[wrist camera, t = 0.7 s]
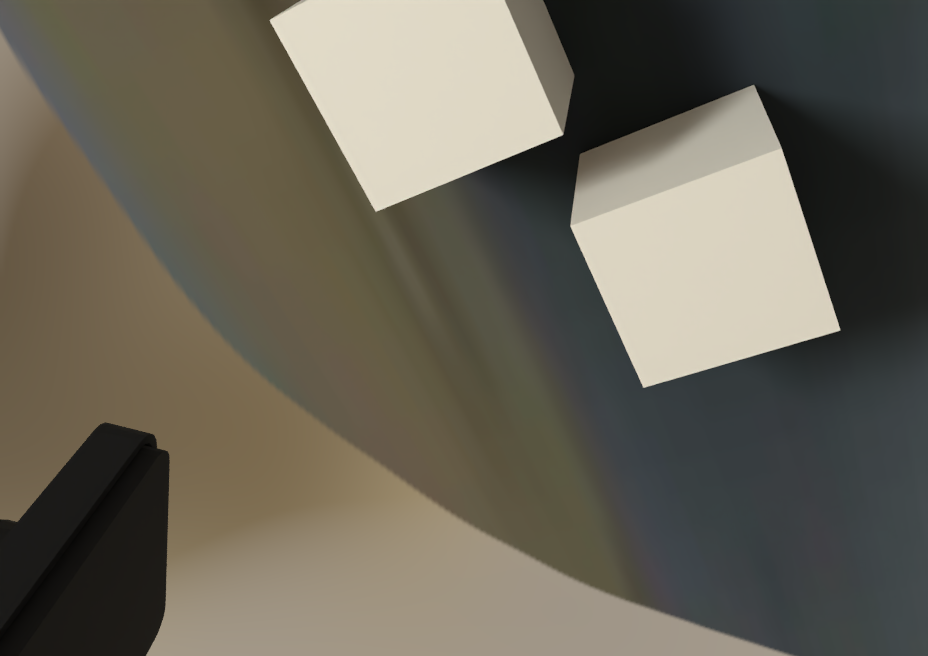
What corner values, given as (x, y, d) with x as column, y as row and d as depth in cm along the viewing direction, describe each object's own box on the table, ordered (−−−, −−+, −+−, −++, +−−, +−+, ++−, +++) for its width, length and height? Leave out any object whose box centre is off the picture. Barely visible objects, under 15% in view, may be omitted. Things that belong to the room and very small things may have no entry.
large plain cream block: (498, -108, 31) (468, -85, 25) (574, 75, 34) (563, 134, 28) (332, -20, 33) (269, 20, 27) (416, 143, 36) (375, 211, 30)
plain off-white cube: (753, 84, 33) (781, 148, 27) (805, 241, 36) (840, 330, 30) (579, 153, 35) (570, 225, 29) (641, 296, 38) (643, 387, 32)
